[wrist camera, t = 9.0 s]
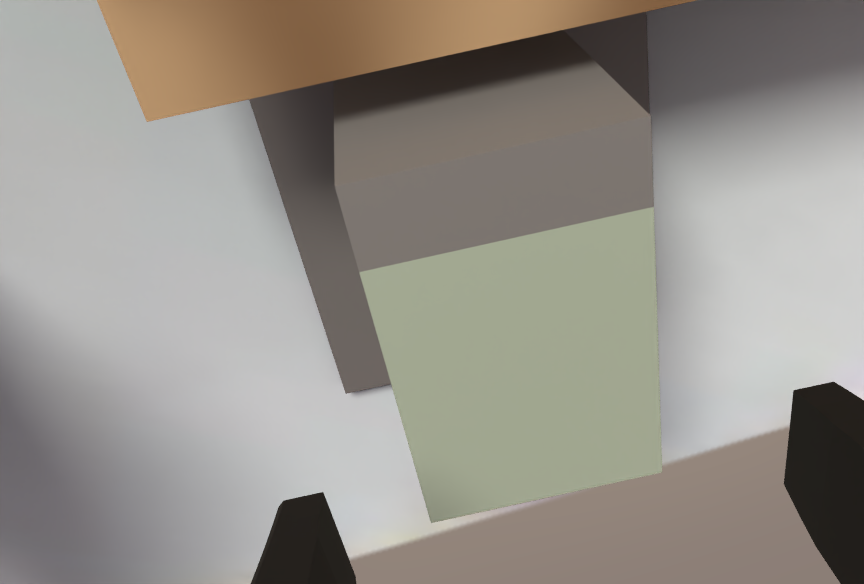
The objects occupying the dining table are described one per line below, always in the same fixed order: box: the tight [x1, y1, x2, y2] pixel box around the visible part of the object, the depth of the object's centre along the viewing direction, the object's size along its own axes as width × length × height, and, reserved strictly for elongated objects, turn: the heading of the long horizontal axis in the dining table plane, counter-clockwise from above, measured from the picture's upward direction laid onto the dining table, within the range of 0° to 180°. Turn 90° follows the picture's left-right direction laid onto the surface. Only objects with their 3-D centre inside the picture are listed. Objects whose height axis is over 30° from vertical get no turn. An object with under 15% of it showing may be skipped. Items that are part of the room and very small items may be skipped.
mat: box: [249, 12, 649, 393], centre depth 19 cm, size 9×9×1 cm
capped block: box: [333, 30, 662, 523], centre depth 17 cm, size 5×8×6 cm, turn 11°
